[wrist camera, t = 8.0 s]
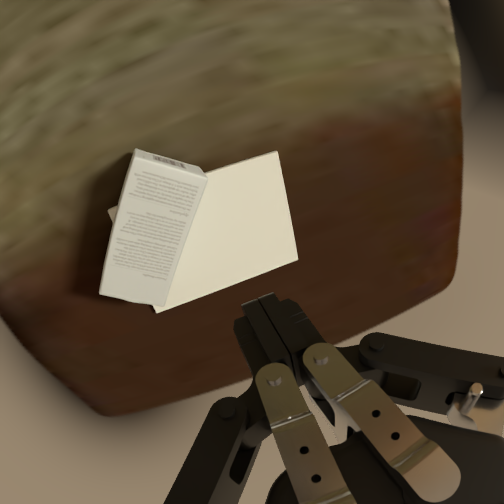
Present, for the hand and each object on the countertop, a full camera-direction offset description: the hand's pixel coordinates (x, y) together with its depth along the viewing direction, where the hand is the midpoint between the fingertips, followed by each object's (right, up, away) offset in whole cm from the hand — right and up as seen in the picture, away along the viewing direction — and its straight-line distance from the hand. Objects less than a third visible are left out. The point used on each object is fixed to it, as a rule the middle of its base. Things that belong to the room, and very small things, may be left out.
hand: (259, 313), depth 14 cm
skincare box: (-7, +10, +10) cm, 15 cm away
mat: (-4, +4, +16) cm, 17 cm away
